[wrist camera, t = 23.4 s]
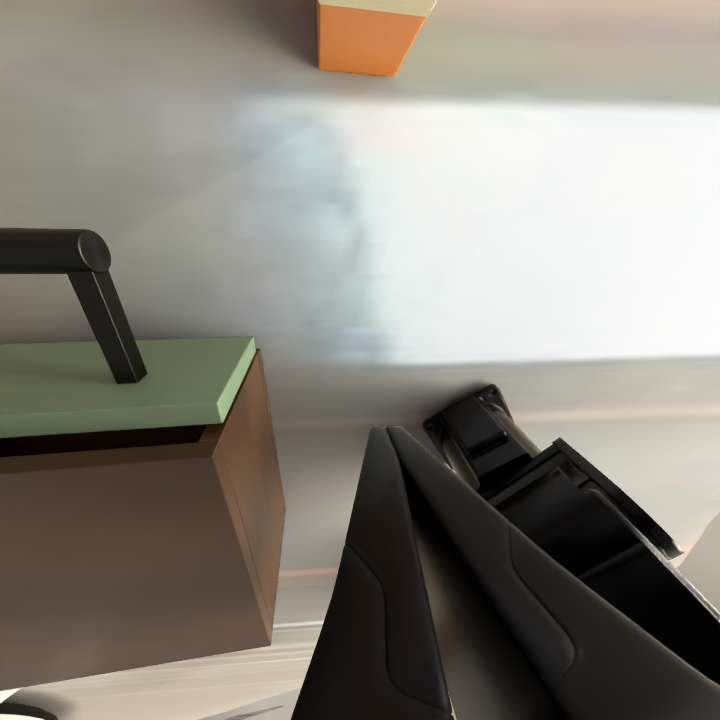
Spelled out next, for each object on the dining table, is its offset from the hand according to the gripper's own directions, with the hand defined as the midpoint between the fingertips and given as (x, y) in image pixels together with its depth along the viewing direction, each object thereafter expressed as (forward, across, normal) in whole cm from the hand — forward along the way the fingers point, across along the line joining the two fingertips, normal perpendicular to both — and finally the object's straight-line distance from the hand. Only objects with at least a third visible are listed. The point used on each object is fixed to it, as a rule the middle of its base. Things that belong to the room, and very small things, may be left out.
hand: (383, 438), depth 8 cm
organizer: (+11, +14, +10) cm, 20 cm away
